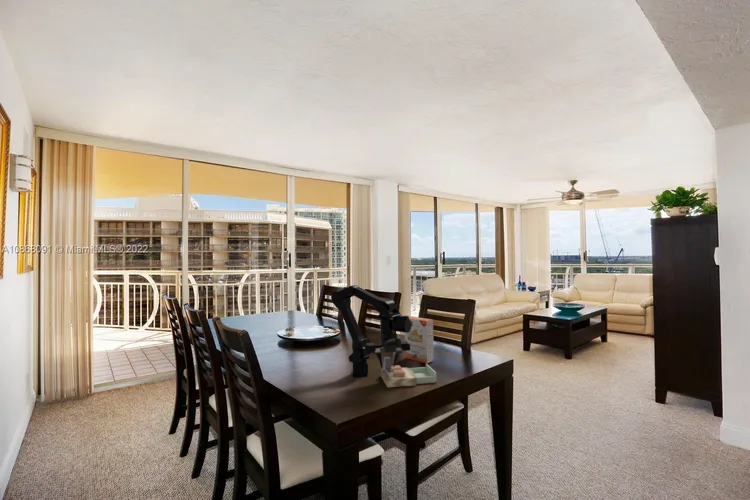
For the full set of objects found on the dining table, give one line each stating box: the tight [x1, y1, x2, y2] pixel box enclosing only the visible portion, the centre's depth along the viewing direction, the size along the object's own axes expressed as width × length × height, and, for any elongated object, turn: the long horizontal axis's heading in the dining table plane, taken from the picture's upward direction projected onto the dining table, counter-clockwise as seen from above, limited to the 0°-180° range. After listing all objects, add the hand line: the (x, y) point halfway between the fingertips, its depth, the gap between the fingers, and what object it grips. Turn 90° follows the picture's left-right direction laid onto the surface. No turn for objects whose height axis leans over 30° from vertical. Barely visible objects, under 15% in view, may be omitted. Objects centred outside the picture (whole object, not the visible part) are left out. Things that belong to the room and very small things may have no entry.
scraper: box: [382, 356, 392, 378], centre depth 158 cm, size 2×11×6 cm, turn 9°
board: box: [380, 367, 417, 388], centre depth 158 cm, size 12×14×3 cm
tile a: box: [393, 369, 405, 377], centre depth 156 cm, size 4×4×2 cm
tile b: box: [391, 364, 403, 372], centre depth 162 cm, size 4×4×2 cm
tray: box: [408, 363, 438, 385], centre depth 161 cm, size 8×13×4 cm, turn 10°
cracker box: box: [404, 316, 435, 365], centre depth 187 cm, size 14×6×21 cm, turn 45°
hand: (387, 367), depth 158 cm, fingers open, 5 cm apart
